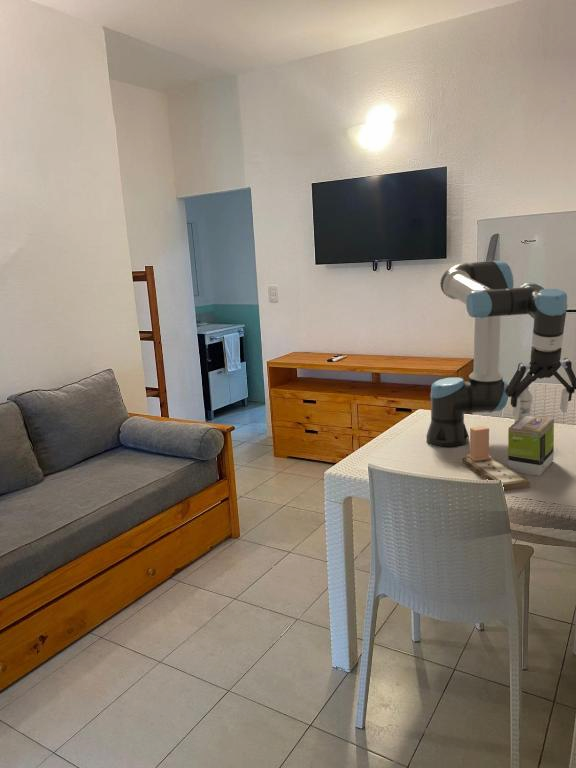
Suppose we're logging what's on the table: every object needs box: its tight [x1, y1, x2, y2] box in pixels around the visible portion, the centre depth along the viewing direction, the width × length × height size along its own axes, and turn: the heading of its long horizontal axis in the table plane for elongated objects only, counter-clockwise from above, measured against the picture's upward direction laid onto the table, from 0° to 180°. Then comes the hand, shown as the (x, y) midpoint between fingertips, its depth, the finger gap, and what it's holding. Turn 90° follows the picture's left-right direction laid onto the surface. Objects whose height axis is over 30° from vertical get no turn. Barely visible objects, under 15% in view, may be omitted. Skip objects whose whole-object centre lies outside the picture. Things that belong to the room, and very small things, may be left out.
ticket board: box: [461, 456, 531, 492], centre depth 181 cm, size 24×9×2 cm, turn 11°
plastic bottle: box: [513, 385, 533, 424], centre depth 213 cm, size 6×7×20 cm
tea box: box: [507, 415, 555, 477], centre depth 184 cm, size 15×10×15 cm, turn 141°
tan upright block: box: [466, 425, 493, 461], centre depth 188 cm, size 5×6×10 cm
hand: (539, 413), depth 167 cm, fingers open, 13 cm apart
